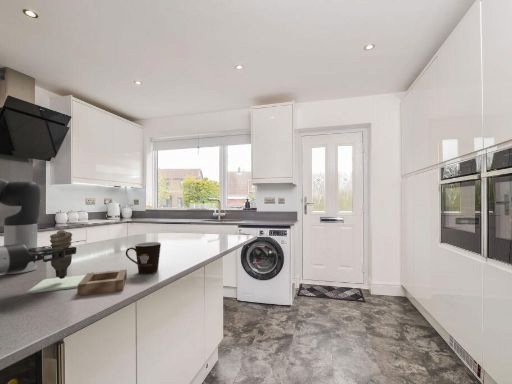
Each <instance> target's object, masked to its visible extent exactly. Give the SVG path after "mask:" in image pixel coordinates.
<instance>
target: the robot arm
mask: <svg viewBox="0 0 512 384" xmlns="http://www.w3.org/2000/svg"><path fill="white" fill-rule="evenodd" d="M0 204H1V205H3V206H8V207H20V210H19V211H18V212H17V213H15V214H11V215H10V216H6V217H5V218H4V222H3V223H4V224H3V245H0V276H3V275H14V274H23V273H27V272H31V271H35V270H37V268H38V267H37V266H38V264H39V263H42V262H43V263H48V262H51V261H52V260H57V259H61V258H65V256H66V255H72V256H73V255H75V254H77V247H76V246H70V247H69V248H60V249H54V248H52V247H51V246H38V220H39V217H40V208H41V207H40V206H41V188H40V186H39V184H38V183H36V182H34V181H9V180H5V179H3V178H1V177H0ZM58 252H59V255H58Z"/></svg>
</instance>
